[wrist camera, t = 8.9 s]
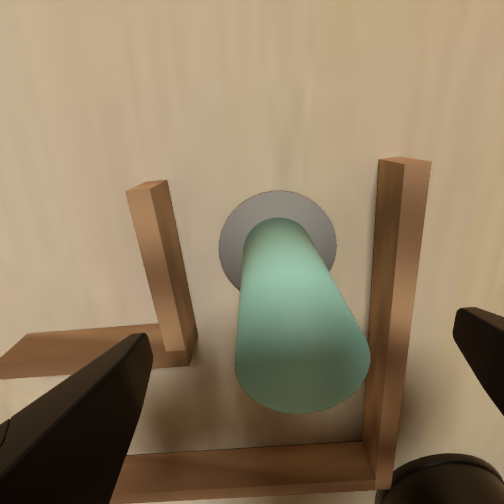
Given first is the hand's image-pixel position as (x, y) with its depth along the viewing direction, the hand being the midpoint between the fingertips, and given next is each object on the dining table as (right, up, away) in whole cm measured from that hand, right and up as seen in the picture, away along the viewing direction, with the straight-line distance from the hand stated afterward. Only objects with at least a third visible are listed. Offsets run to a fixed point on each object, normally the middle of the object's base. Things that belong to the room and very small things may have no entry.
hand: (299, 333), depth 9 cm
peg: (0, +2, +6) cm, 7 cm away
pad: (0, +3, +7) cm, 7 cm away
